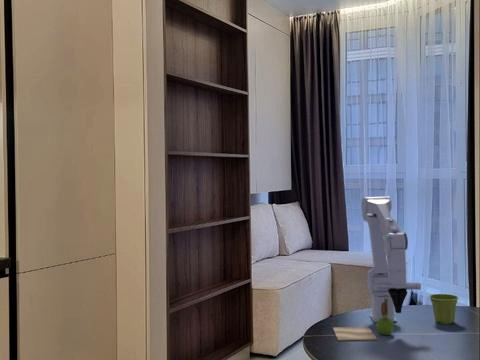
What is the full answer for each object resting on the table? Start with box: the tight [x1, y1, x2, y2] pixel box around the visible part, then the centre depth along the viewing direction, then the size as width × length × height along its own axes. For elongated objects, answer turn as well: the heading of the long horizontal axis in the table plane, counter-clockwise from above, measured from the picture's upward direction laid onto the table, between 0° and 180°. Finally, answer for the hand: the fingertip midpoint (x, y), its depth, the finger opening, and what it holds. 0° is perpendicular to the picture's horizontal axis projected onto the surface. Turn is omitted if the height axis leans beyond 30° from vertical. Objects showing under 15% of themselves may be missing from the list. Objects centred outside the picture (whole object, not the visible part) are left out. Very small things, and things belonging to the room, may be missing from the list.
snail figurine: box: [375, 295, 395, 336], centre depth 165 cm, size 5×6×12 cm
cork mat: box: [332, 326, 378, 342], centre depth 166 cm, size 14×12×1 cm
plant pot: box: [429, 293, 459, 325], centre depth 178 cm, size 9×9×9 cm
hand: (398, 312), depth 165 cm, fingers closed
